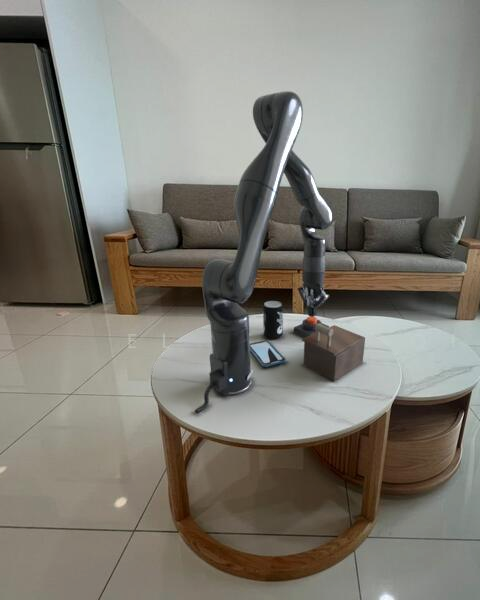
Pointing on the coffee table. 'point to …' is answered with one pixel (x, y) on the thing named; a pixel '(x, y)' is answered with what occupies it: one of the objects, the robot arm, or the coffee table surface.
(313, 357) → the keepsake box
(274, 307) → the beverage can
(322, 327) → the lid
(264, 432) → the coffee table surface
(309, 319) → the button
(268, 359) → the smartphone
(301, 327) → the button base
